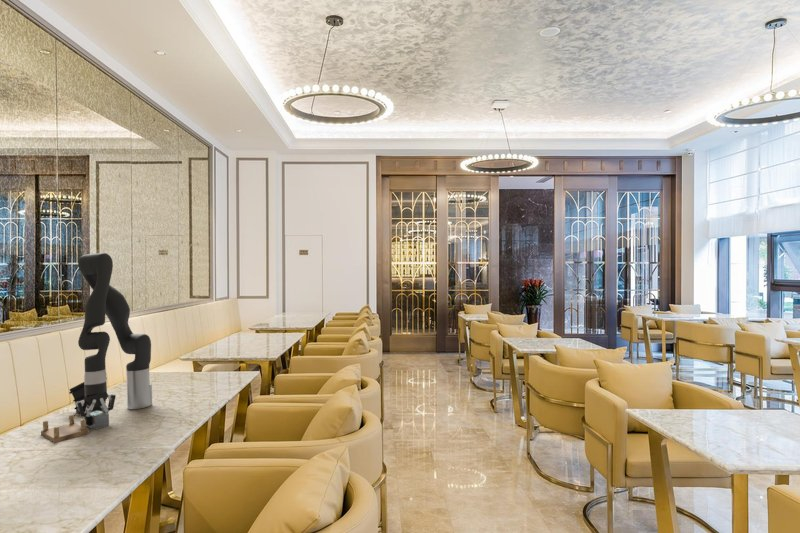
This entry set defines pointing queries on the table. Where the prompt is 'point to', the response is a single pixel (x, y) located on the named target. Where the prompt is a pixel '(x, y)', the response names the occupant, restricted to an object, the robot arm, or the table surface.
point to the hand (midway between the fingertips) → (96, 423)
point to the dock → (64, 430)
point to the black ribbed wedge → (81, 396)
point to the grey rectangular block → (99, 420)
